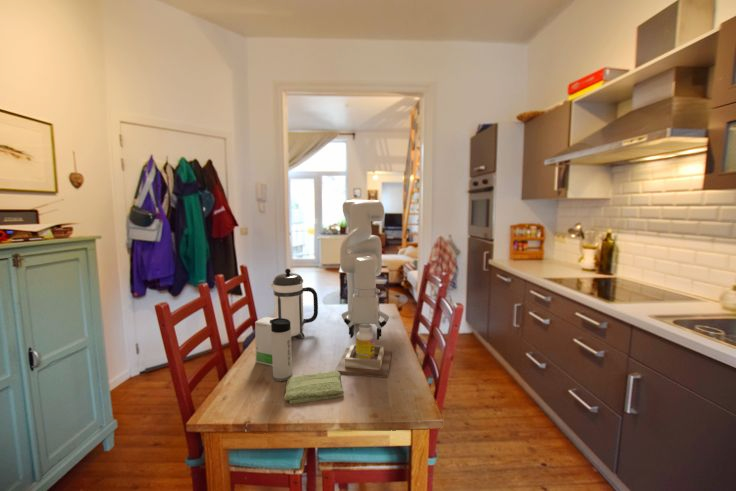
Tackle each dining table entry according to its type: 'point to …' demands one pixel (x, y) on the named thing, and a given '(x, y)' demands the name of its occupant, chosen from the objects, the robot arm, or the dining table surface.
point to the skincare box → (263, 341)
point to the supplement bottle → (365, 342)
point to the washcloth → (314, 387)
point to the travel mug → (281, 349)
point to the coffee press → (292, 301)
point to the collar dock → (365, 363)
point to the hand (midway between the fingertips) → (365, 337)
